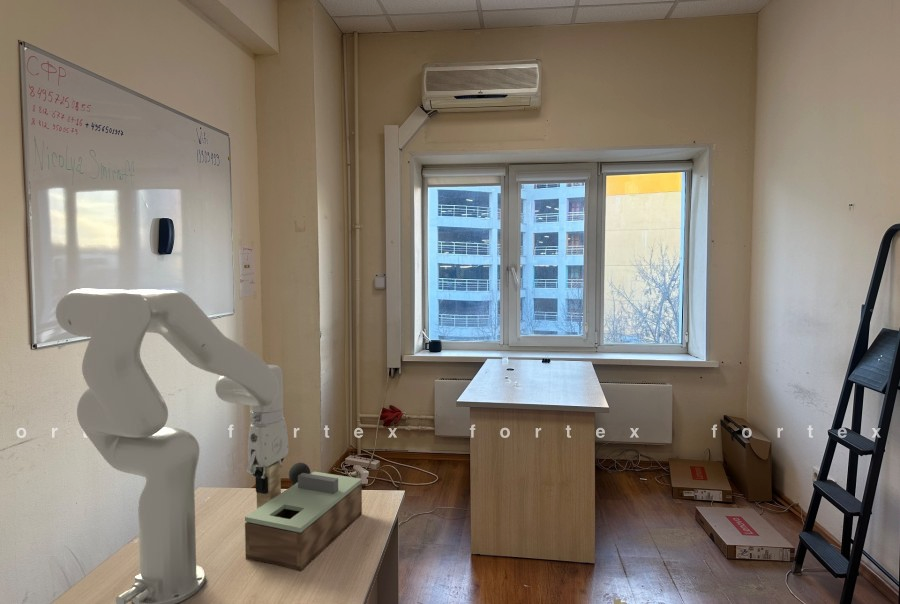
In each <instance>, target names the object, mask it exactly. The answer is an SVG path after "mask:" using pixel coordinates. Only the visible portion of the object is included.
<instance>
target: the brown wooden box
mask: <svg viewBox="0 0 900 604" xmlns="http://www.w3.org/2000/svg"><path fill="white" fill-rule="evenodd" d="M362 484H363V483H361V484H359V485H358V486H357V487H356V488H355V489H353V490H352V491H351V492H350V493H348V494H347V495H346V496H345V497H344V498H342V499H341V500H340V501H339V502H338V503H336V504H335V505H334V506H333V507H331V508H330V509H329V510H328V511H327V512H325V513H324V514H323V515H322V516H320V517H319V518H318V519H317V520H316V521H314V522H313V523H312V524H311V525H309V526H308V527H307V528H306V529H305V530H303V531H302V532H301V533H300V532H295V531H290V530H285V529H280V528H275V527H270V526H265V525H260V524H255V523H250V522H244V534H245V535H244V536H245V537H244V539H245V546H244V547H245V560H249V561H254V562H258V563H263V564H267V565H271V566H275V567H280V568H283V569H288V570H291V571H297V572H302V571H304V570H305V569H306V567H308V565H310V564H311V563H312V562H313V561H314V560H316V558H317V557H319V555H320V554H321V553H323V552H324V551H325V549H327V548H328V547H329V546H330V545H331V544H332V543H333V542H334V541H335V540H337V538H338V537H339V536H340V535H341V534H343V533H342V532H343V531H344V530H345V529H346V530H347V529H348V528H349V527H351V526H352V524H353V523H355V521H356V520H358V519H359V517H360V516H362V514H363V506H362V505H363V500H362V499H363V485H362ZM299 512H300V511H295V510H289V509H283V510H282V511H280V512H279V513H278V514H276V515H275V517H281V518H286V519H291V518H292V517H294V516H295V515H296V514H298V513H299ZM346 530H345V531H346Z"/></svg>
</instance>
